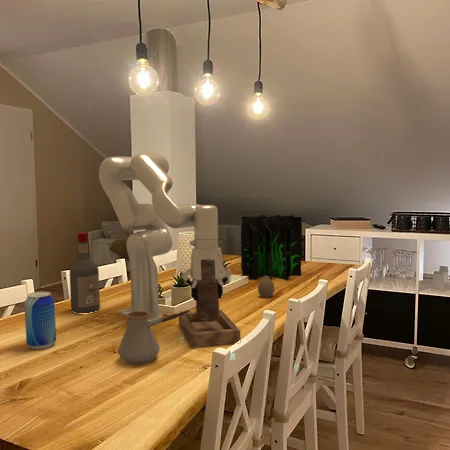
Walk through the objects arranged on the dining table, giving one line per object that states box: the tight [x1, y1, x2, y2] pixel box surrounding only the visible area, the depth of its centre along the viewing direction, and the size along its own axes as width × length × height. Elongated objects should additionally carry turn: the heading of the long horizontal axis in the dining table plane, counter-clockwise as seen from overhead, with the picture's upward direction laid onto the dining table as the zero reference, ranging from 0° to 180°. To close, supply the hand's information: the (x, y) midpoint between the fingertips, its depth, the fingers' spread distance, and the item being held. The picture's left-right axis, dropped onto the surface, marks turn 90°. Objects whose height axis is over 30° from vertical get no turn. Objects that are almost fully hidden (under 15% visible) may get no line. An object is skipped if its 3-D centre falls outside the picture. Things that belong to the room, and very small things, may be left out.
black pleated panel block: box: [240, 214, 303, 282], centre depth 247 cm, size 29×30×30 cm
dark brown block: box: [195, 259, 220, 322], centre depth 156 cm, size 8×7×20 cm
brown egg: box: [257, 276, 275, 299], centre depth 204 cm, size 7×7×9 cm
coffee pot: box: [117, 309, 192, 365], centre depth 134 cm, size 21×12×15 cm, turn 75°
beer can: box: [24, 291, 57, 350], centre depth 147 cm, size 8×8×16 cm
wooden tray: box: [178, 309, 241, 349], centre depth 157 cm, size 15×24×4 cm, turn 14°
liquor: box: [69, 232, 101, 314], centre depth 184 cm, size 9×9×30 cm
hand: (207, 298), depth 156 cm, fingers closed on dark brown block, 7 cm apart
